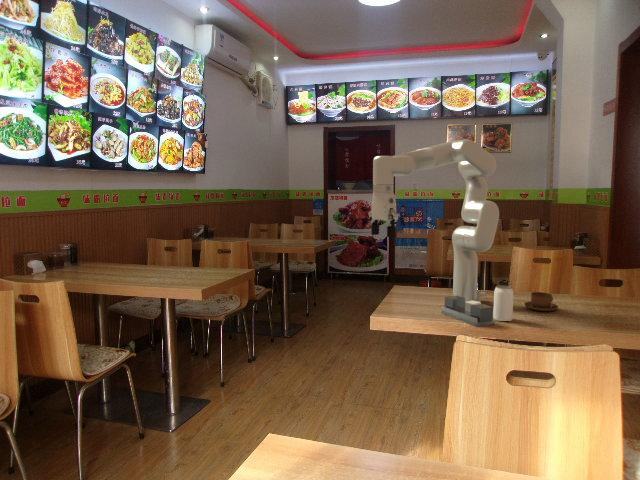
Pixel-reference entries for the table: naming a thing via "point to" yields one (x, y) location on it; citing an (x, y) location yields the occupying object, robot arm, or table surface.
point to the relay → (469, 303)
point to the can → (503, 303)
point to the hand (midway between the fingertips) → (382, 235)
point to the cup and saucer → (541, 302)
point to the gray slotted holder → (475, 317)
